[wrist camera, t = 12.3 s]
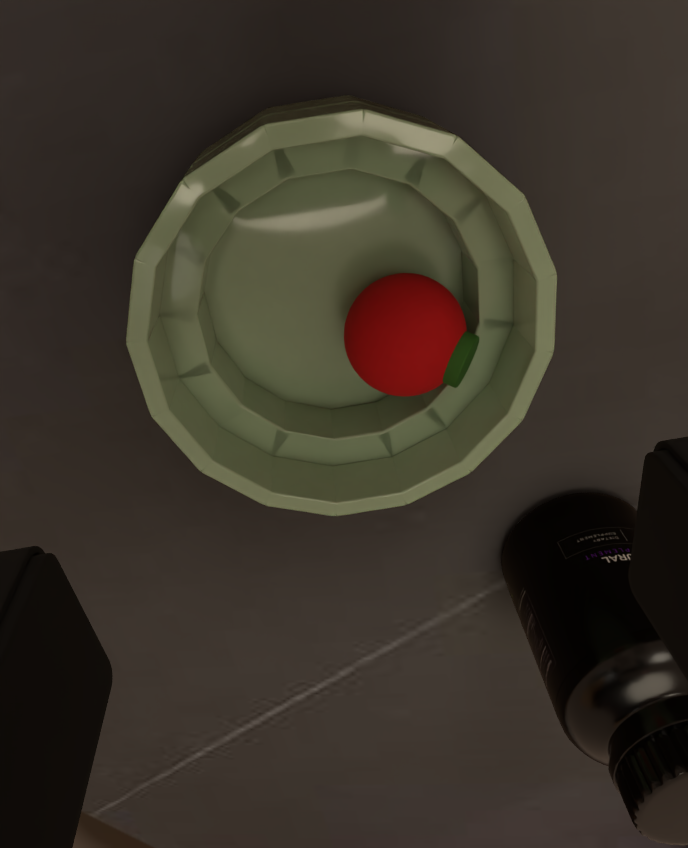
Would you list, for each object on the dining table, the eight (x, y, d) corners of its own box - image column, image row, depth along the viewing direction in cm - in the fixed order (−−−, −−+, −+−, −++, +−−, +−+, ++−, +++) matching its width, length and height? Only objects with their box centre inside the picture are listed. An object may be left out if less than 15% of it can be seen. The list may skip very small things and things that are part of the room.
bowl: (109, 131, 20) (61, 156, 15) (504, 67, 20) (565, 76, 15) (207, 457, 26) (192, 540, 22) (505, 410, 26) (549, 483, 22)
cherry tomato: (325, 299, 19) (458, 356, 18) (385, 232, 21) (506, 279, 20) (318, 389, 22) (431, 442, 21) (371, 323, 24) (475, 367, 23)
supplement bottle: (624, 462, 28) (823, 710, 18) (653, 565, 31) (835, 823, 21) (476, 522, 29) (582, 789, 19) (519, 616, 32) (629, 885, 22)
